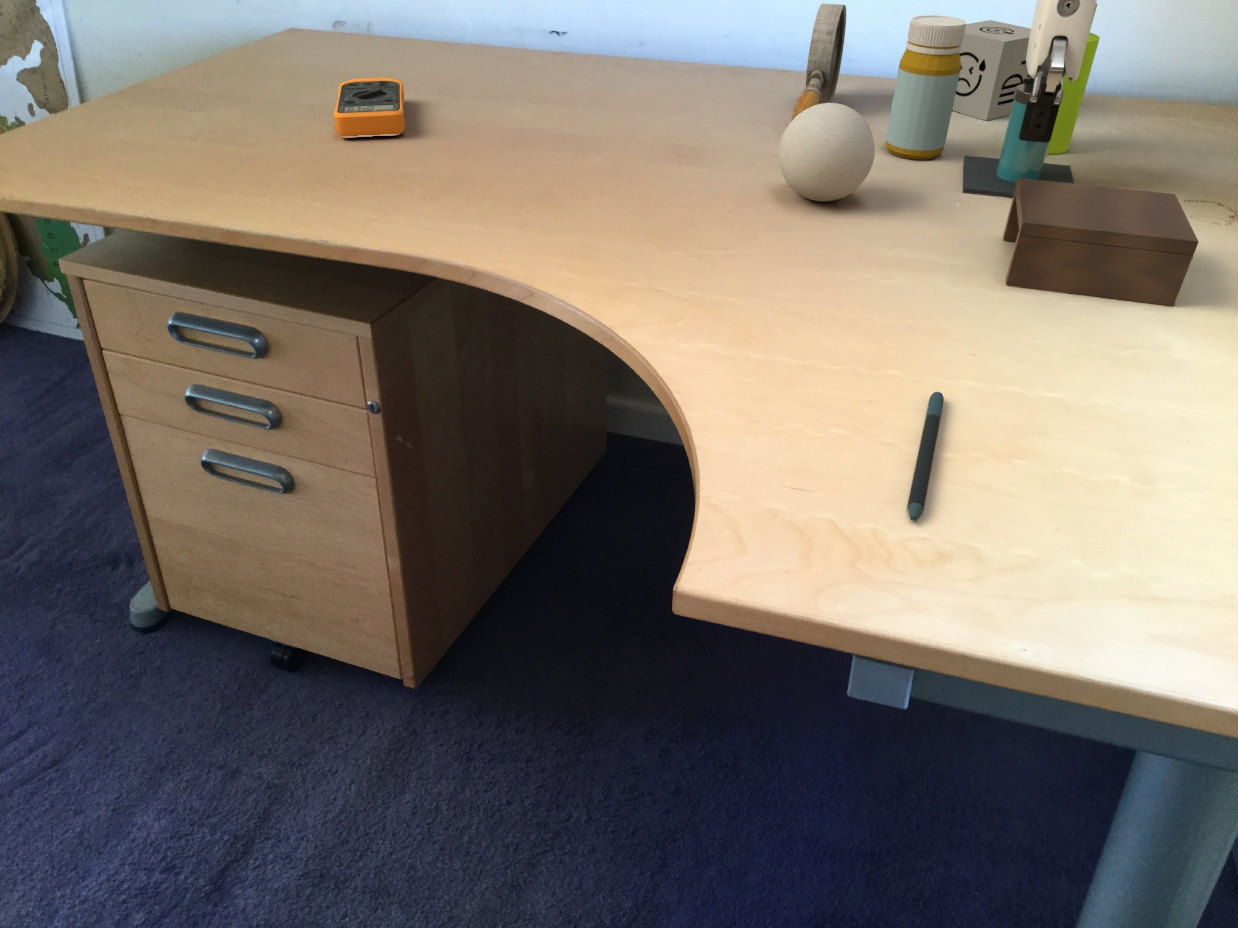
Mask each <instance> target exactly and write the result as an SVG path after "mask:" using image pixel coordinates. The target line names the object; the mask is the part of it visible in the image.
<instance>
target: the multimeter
mask: <svg viewBox="0 0 1238 928" xmlns="http://www.w3.org/2000/svg"><path fill="white" fill-rule="evenodd" d="M404 102H405V89H404V83H403V82H402V81H401V80H399V79H396V78H390V77H367V78H365V77H364V78H354V79H349V80H346V81H343V82H341V83H340V84H339V85H338V95H337V101H336V106H335V108H334V109H335V110H334V112H333V120H334V126H335V129H336V132H337V134H338V135H339V136H340V135H341V136H358V135H380V134H382V135H383V134H399V133H402V132H403V133H404V132H405V130H406V123H405V115H404V114H405V112H404V104H405V103H404ZM403 133H402V134H403ZM341 136H340V137H341Z"/></svg>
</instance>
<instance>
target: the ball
mask: <svg viewBox="0 0 1238 928" xmlns="http://www.w3.org/2000/svg"><path fill="white" fill-rule="evenodd" d="M790 122H791V123H789V124H788V125H787V127H786V128H785V130H784V132H783V134H782V136H781V140H780V144H779V146H778V147H779V148H778V163H779V167H780V171H781V174H782V177H783V178H784V180H785V182H786V183H787V185H788V186H789V187H790V188H791V189H792V190H793V191H795V193H797V194H798V195H799V196H801V197H803V198H804V199H807V200H811V201H813V202H814V201H815V202H833V201H836V200H840V199H842V198H844V197H847V196H849V195H850V194H852V193H853V192H854V191H856V190H857V189H858V188H859V187H860V186H861V185H862V184H863V182H865V180H866V178H867V177H868V176H869V173H870V172H871V169H872V166H873V163H874V159H875V154H876V153H875V151H876V149H875V147H876V146H875V145H876V144H875V138H874V135H873V132H872V129H871V127H870V126H869V123H868V122H867V120H866V119H865V118H864V117H863V115H861V114H860V113H859V112H858V111H856V110H855V109H854V108H852V107H850V106H848V105H845V104H842V103H837V102H832V103H823V104H818V105H815V106H812V107H810V108H808V109H806V110H804V111H803V112H801V113H800V114H799V115H797V116H796V117H795V118H794V119H793V120H792V121H791V120H790Z"/></svg>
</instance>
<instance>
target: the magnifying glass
mask: <svg viewBox="0 0 1238 928" xmlns="http://www.w3.org/2000/svg"><path fill="white" fill-rule="evenodd" d="M846 29H847V6H846V5H845V4H837V3H821V4H820V5H819V7H818V10H817V13H816V16H815V19H814V24H813V27H812V31H811V32H812V33H811V38H810V43H809V50H808V56H807V64H806V75H805V76H806V77H805V87H804V89H803V90H802V93H801V95H800V96H799V98H798V100H797V101H796V104H795V106H794V109H793V112H792V116H791V118H790V123H791V121H792V120H793V119H794V118H795V117H796V116H797V115H799V114H800V113H801V112H803V111H804V110H806V109H808V108H810V107H812V106H815V105H818V104H823V103H833V101H834V98H835V95H836V89H837V85H838V82H839V76H840V70H841V65H842V59H843V53H844V52H843V51H844V46H845V37H846ZM790 123H789V124H790Z"/></svg>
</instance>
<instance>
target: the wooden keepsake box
mask: <svg viewBox="0 0 1238 928" xmlns="http://www.w3.org/2000/svg"><path fill="white" fill-rule="evenodd" d="M1010 204H1011V205H1010V207H1009V211H1008V215H1007V218H1006V222H1005V227H1004V230H1003V234H1002V240H1003V241H1005V242H1013V243H1015V244H1014V247H1013V251H1012V254H1011V258H1010V262H1009V265H1008V269H1007V274H1006V277H1005V286H1011V287H1020V288H1027V289H1034V290H1043V291H1051V292H1057V293H1058V292H1059V293H1065V294H1066V293H1067V294H1073V295H1081V296H1090V297H1098V298H1106V299H1114V300H1122V301H1129V302H1136V303H1138V302H1139V303H1143V304H1144V303H1145V304H1152V305H1153V304H1154V305H1160V306H1170V307H1174V306H1175V304H1176V301H1177V299H1178V297H1179V293H1180V291H1181V289H1182V286H1183V284H1184V281H1185V278H1186V276H1187V274H1188V271H1189V267H1190V265H1191V263H1192V260H1193V257H1194V255H1195V252H1196V250H1197V247H1198V245H1199V243H1200V242H1199V239H1198V238H1197V236H1196V234H1195V231H1194V229H1193V227H1192V225H1191V223H1190V221H1189V219H1188V217H1187V215H1186V213H1185V211H1184V208H1183V206H1182V205H1181V203H1180V201H1179V199H1178V197H1177V195H1176V193H1171V192H1162V191H1161V192H1160V191H1151V190H1140V189H1131V188H1122V187H1111V186H1110V187H1109V186H1102V185H1092V184H1081V183H1074V184H1073V183H1063V182H1053V181H1043V180H1033V179H1023V178H1018V180H1017V184H1016V187H1015V191H1014V195H1013V197H1012V200H1011V203H1010Z"/></svg>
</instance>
